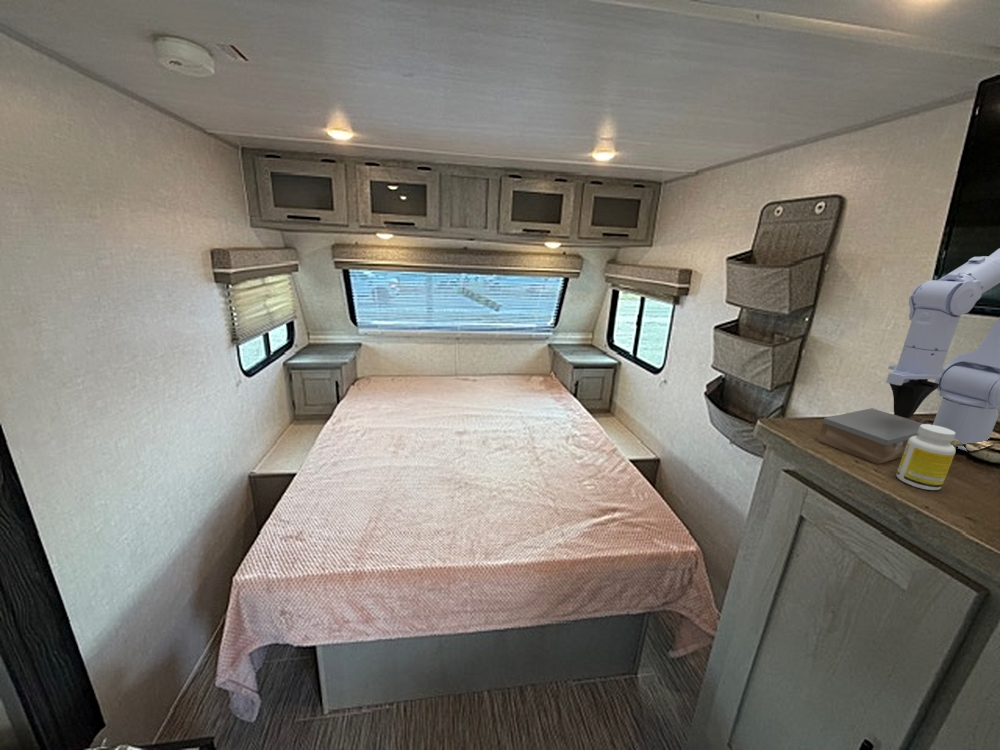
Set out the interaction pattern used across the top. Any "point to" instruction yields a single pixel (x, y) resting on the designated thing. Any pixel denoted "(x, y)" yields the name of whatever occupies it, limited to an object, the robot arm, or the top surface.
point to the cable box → (861, 445)
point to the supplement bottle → (927, 457)
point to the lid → (876, 425)
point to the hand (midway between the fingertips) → (902, 415)
